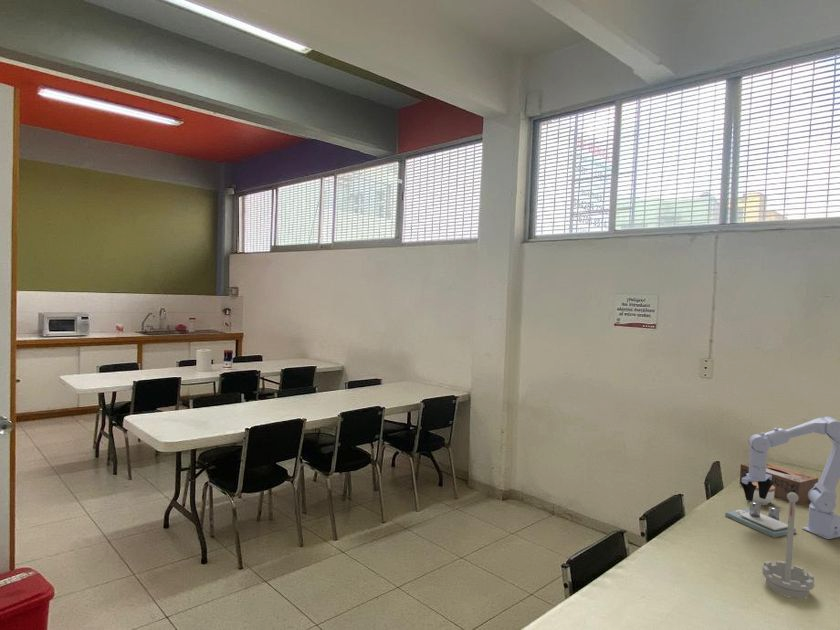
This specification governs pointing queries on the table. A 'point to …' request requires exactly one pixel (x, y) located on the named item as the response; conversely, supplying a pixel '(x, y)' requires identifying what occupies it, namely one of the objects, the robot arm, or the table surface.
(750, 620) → the table surface
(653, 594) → the table surface
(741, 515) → the scale
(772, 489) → the lidded jar
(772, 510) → the cylinder
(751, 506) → the cylinder
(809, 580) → the flag stand
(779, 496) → the tissue box cover
